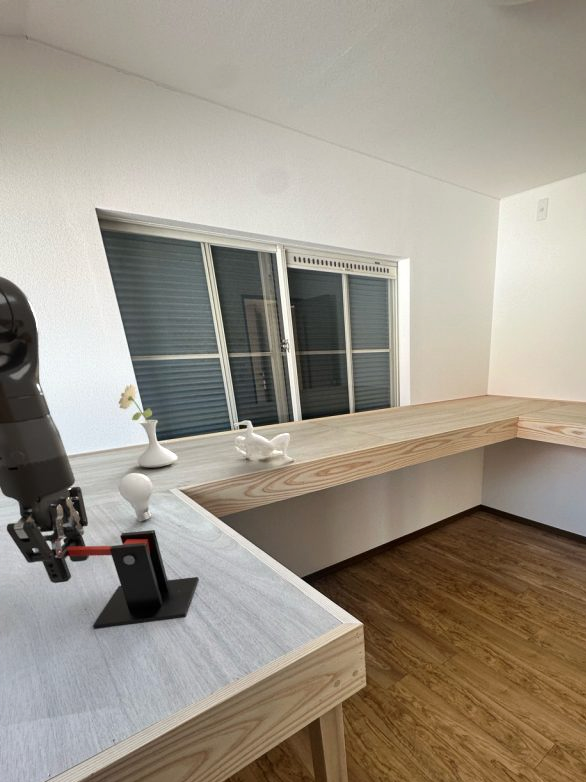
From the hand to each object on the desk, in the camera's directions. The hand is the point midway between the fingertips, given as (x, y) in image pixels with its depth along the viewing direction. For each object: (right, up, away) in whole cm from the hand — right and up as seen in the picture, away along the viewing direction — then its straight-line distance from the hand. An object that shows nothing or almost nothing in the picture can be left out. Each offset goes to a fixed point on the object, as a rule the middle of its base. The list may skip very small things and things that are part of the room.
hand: (71, 569), depth 59 cm
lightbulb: (-9, +6, +34) cm, 36 cm away
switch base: (+9, -6, +5) cm, 12 cm away
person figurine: (+5, +25, +77) cm, 81 cm away
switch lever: (+4, +2, 0) cm, 5 cm away
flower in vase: (-27, +23, +72) cm, 80 cm away
